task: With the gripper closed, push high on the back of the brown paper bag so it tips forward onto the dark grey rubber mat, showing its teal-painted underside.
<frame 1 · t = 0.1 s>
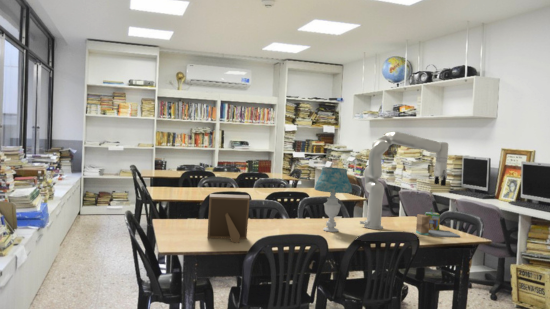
hand: (439, 184, 321), 31 cm above the table, tool pointing down, fingers open, 9 cm apart
photo frame: (227, 240, 258), on the table
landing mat: (441, 234, 307), on the table
colorful lidded canister: (431, 230, 322), on the table
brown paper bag: (422, 233, 305), on the table
table lamp: (330, 230, 299), on the table
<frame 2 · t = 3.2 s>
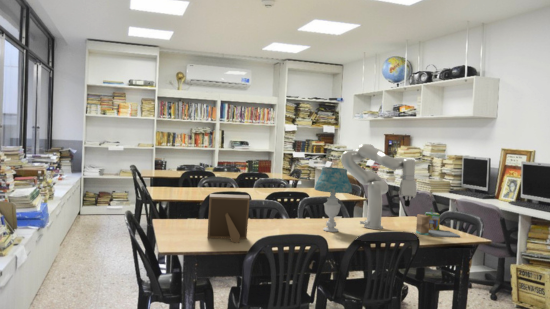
hand: (406, 206, 303), 18 cm above the table, tool pointing down, fingers closed
nothing on the table moved.
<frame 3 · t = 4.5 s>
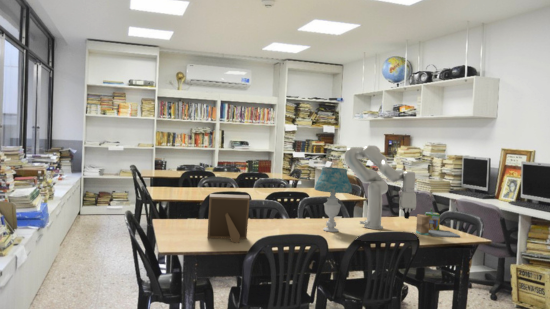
hand: (406, 218, 304), 10 cm above the table, tool pointing down, fingers closed
nothing on the table moved.
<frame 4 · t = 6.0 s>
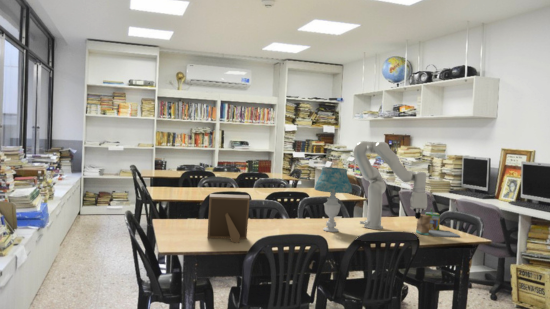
hand: (417, 218, 304), 10 cm above the table, tool pointing down, fingers closed
nothing on the table moved.
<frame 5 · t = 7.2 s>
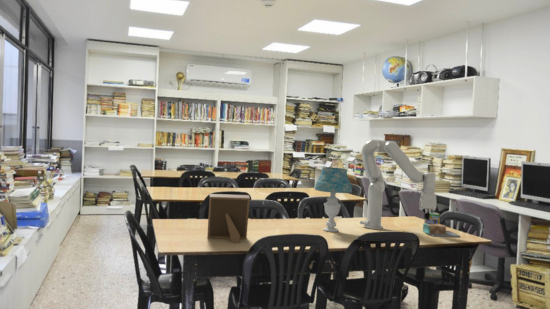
hand: (426, 219, 305), 10 cm above the table, tool pointing down, fingers closed
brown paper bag: (425, 228, 305), point 3 cm above the table, tilted 90°, touching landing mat
everything else where it was.
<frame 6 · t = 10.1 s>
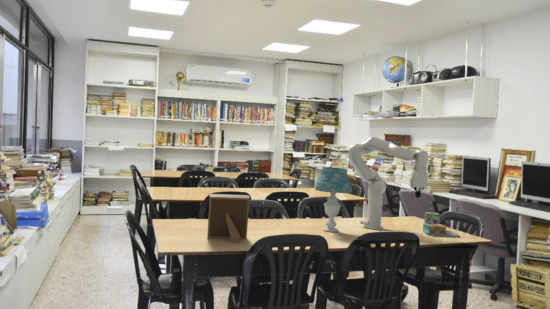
hand: (417, 197, 304), 24 cm above the table, tool pointing down, fingers closed
nothing on the table moved.
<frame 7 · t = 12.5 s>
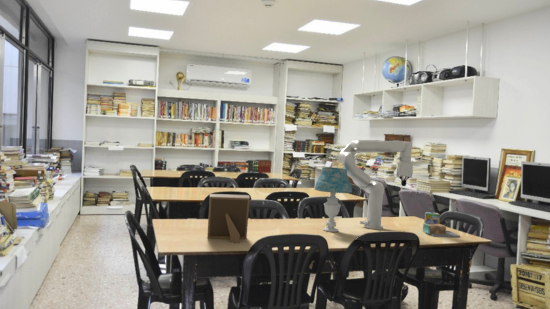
hand: (403, 186, 320), 29 cm above the table, tool pointing down, fingers closed
nothing on the table moved.
at the end: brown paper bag tilted 90°; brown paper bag inside the target area (3.9 cm from its centre), point 3.5 cm above the table; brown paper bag touching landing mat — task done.
